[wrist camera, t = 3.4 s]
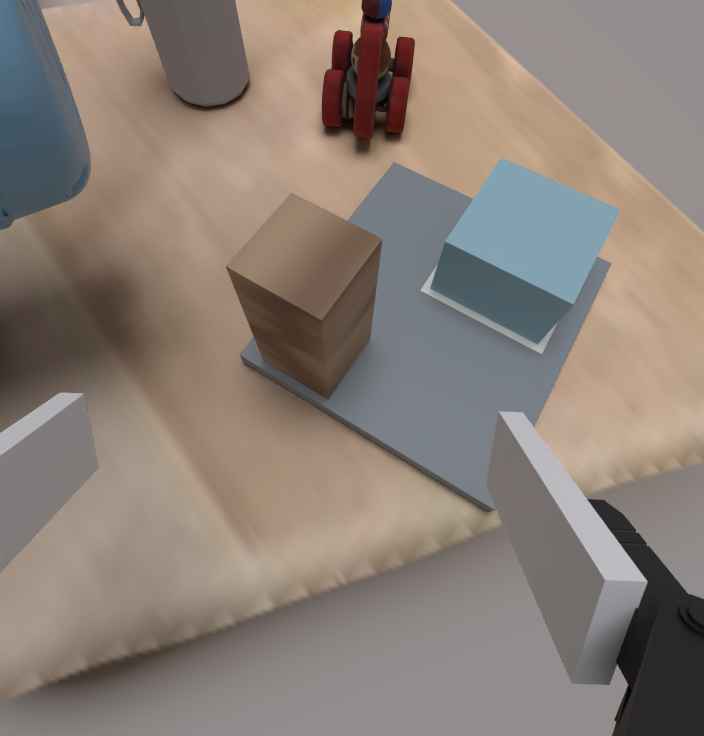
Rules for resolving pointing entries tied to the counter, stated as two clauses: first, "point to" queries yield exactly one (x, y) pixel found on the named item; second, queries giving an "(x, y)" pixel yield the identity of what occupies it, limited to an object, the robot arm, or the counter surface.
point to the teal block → (523, 250)
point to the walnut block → (308, 292)
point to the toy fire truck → (368, 74)
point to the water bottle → (197, 47)
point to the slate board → (436, 347)
